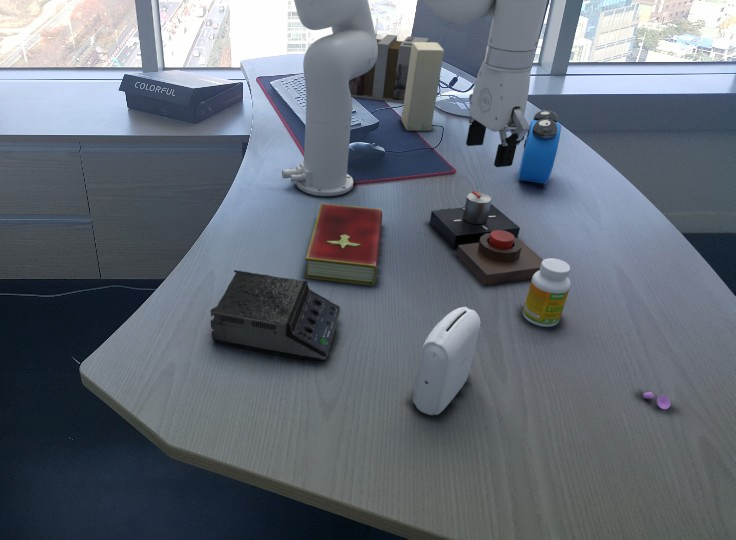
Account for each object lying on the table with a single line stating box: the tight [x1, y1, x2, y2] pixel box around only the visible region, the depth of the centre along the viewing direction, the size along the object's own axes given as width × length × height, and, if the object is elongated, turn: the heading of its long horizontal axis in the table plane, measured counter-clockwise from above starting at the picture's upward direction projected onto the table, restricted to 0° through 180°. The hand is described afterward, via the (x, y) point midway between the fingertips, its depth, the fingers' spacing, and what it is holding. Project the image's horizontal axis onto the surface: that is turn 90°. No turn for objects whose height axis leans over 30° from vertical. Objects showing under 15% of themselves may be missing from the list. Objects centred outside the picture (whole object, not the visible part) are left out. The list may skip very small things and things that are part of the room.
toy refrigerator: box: [401, 41, 445, 132], centre depth 166 cm, size 8×7×21 cm
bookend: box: [349, 33, 430, 104], centre depth 193 cm, size 16×25×16 cm, turn 68°
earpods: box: [642, 391, 672, 410], centre depth 84 cm, size 3×2×2 cm
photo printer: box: [412, 306, 482, 416], centre depth 82 cm, size 10×4×12 cm, turn 140°
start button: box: [489, 230, 514, 249], centre depth 111 cm, size 4×4×2 cm
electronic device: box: [210, 269, 341, 361], centre depth 95 cm, size 12×17×6 cm
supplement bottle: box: [522, 257, 572, 328], centre depth 97 cm, size 5×5×10 cm
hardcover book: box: [304, 202, 383, 287], centre depth 116 cm, size 12×21×4 cm, turn 168°
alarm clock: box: [517, 108, 562, 189], centre depth 139 cm, size 13×6×15 cm, turn 158°
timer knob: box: [463, 190, 493, 224], centre depth 120 cm, size 4×4×5 cm
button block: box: [455, 233, 544, 286], centre depth 111 cm, size 12×10×4 cm
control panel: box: [428, 203, 521, 250], centre depth 122 cm, size 13×10×3 cm
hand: (487, 155), depth 114 cm, fingers open, 9 cm apart
